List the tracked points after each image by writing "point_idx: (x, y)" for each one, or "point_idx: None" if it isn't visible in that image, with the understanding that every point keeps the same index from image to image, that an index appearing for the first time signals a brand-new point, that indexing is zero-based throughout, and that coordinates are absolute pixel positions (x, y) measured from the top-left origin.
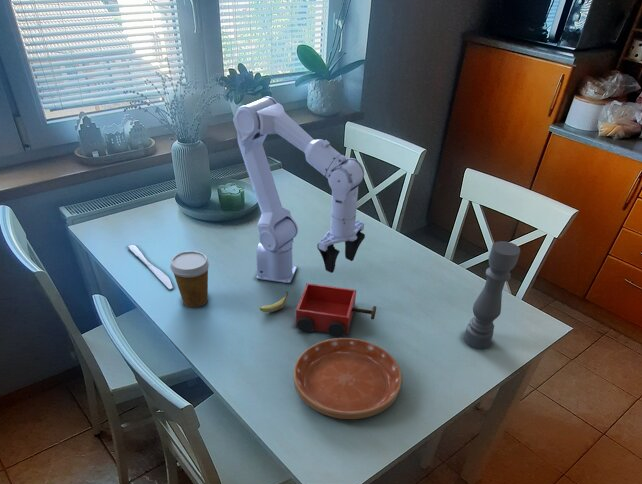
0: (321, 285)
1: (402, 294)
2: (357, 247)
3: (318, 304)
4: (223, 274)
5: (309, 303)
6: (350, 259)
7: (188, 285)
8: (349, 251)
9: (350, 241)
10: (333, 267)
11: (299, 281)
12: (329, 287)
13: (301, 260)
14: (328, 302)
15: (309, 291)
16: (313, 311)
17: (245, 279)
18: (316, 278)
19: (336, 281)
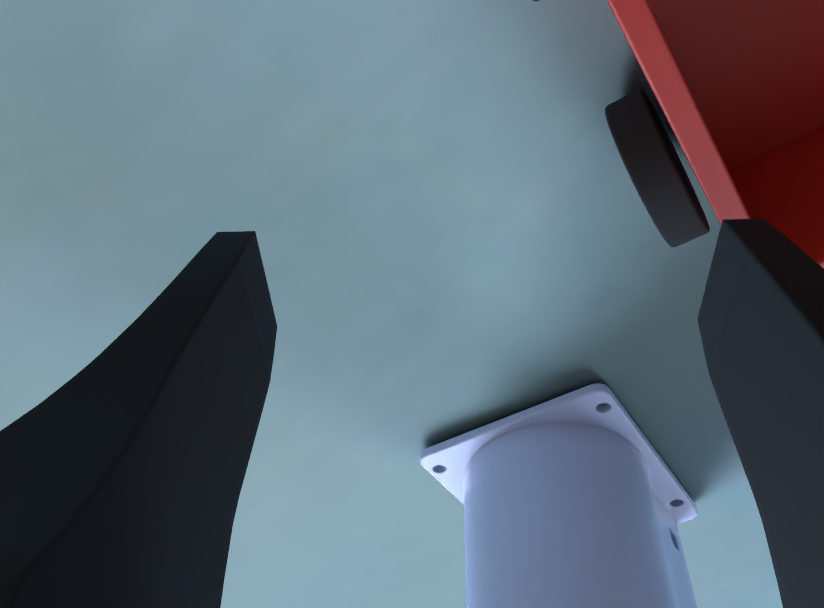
0: (710, 186)
1: None
2: (101, 389)
3: (750, 50)
4: (764, 599)
5: (786, 119)
6: (256, 265)
7: None
8: (232, 390)
9: (176, 573)
10: (812, 273)
11: (523, 358)
12: (691, 99)
13: (321, 478)
14: (655, 3)
15: (750, 217)
16: None
17: (736, 531)
18: (395, 312)
19: (290, 193)
